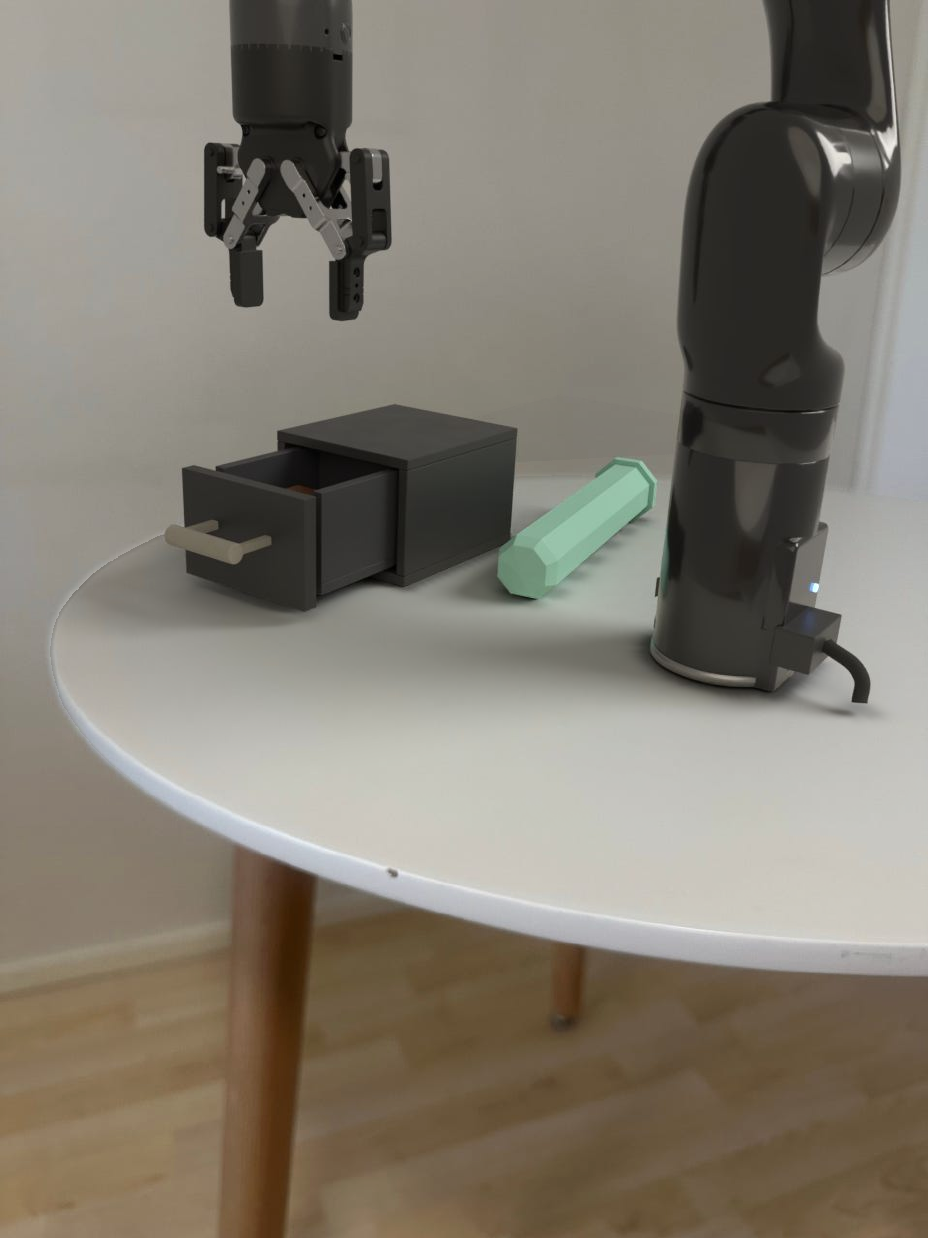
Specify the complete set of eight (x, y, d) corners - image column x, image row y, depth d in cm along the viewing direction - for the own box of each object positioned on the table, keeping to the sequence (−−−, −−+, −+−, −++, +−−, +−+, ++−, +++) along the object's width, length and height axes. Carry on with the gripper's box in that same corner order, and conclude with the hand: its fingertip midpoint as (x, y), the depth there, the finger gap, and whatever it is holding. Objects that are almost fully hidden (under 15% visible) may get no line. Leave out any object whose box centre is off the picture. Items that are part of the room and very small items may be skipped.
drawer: (260, 630, 74) (257, 514, 71) (140, 588, 80) (133, 479, 77) (424, 562, 88) (428, 462, 85) (311, 531, 94) (311, 436, 91)
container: (543, 525, 80) (648, 448, 101) (470, 542, 83) (587, 464, 104) (567, 604, 81) (666, 512, 102) (495, 618, 84) (605, 526, 105)
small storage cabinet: (404, 587, 85) (407, 460, 82) (278, 549, 92) (276, 430, 88) (510, 541, 96) (518, 427, 93) (391, 510, 103) (394, 403, 99)
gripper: (166, 40, 72) (179, 306, 78) (341, 35, 65) (341, 329, 71) (250, 52, 78) (257, 299, 84) (420, 48, 71) (414, 319, 77)
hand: (295, 312), depth 77 cm, fingers open, 8 cm apart
